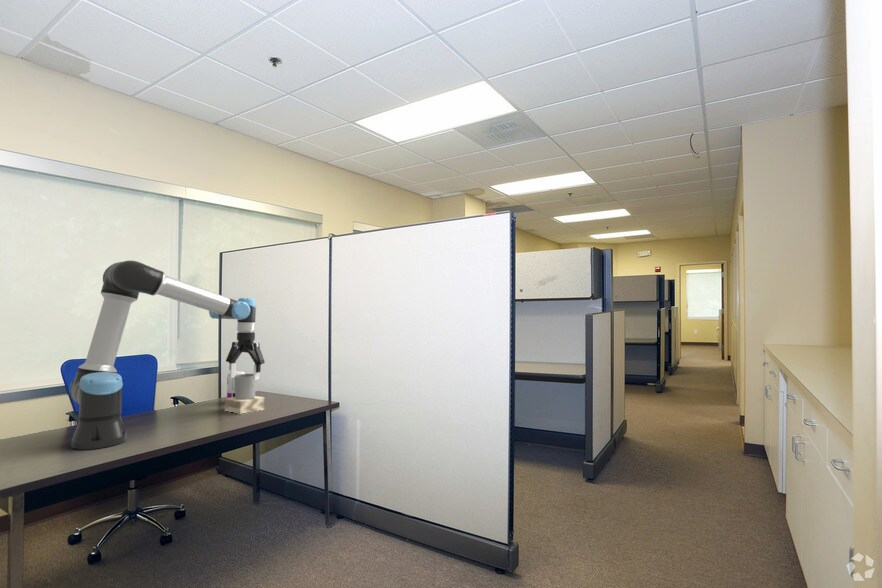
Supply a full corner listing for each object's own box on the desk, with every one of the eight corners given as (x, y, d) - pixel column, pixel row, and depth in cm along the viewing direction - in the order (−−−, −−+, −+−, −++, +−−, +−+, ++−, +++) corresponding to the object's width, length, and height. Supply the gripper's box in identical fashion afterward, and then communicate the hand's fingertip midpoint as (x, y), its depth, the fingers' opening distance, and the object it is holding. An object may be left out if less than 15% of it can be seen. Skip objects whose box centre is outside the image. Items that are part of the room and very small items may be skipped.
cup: (249, 399, 201) (248, 377, 201) (231, 399, 202) (231, 377, 201) (258, 395, 209) (257, 373, 209) (241, 395, 210) (240, 373, 210)
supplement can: (223, 404, 217) (224, 373, 218) (232, 401, 226) (232, 370, 226) (240, 404, 217) (240, 373, 217) (248, 401, 225) (248, 371, 226)
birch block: (240, 415, 197) (240, 401, 197) (224, 411, 204) (224, 398, 204) (264, 410, 207) (264, 397, 207) (248, 407, 214) (248, 394, 214)
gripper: (273, 332, 205) (272, 379, 205) (231, 330, 214) (229, 375, 213) (261, 332, 198) (260, 381, 198) (218, 331, 207) (216, 377, 206)
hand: (244, 378), depth 205 cm, fingers open, 13 cm apart
